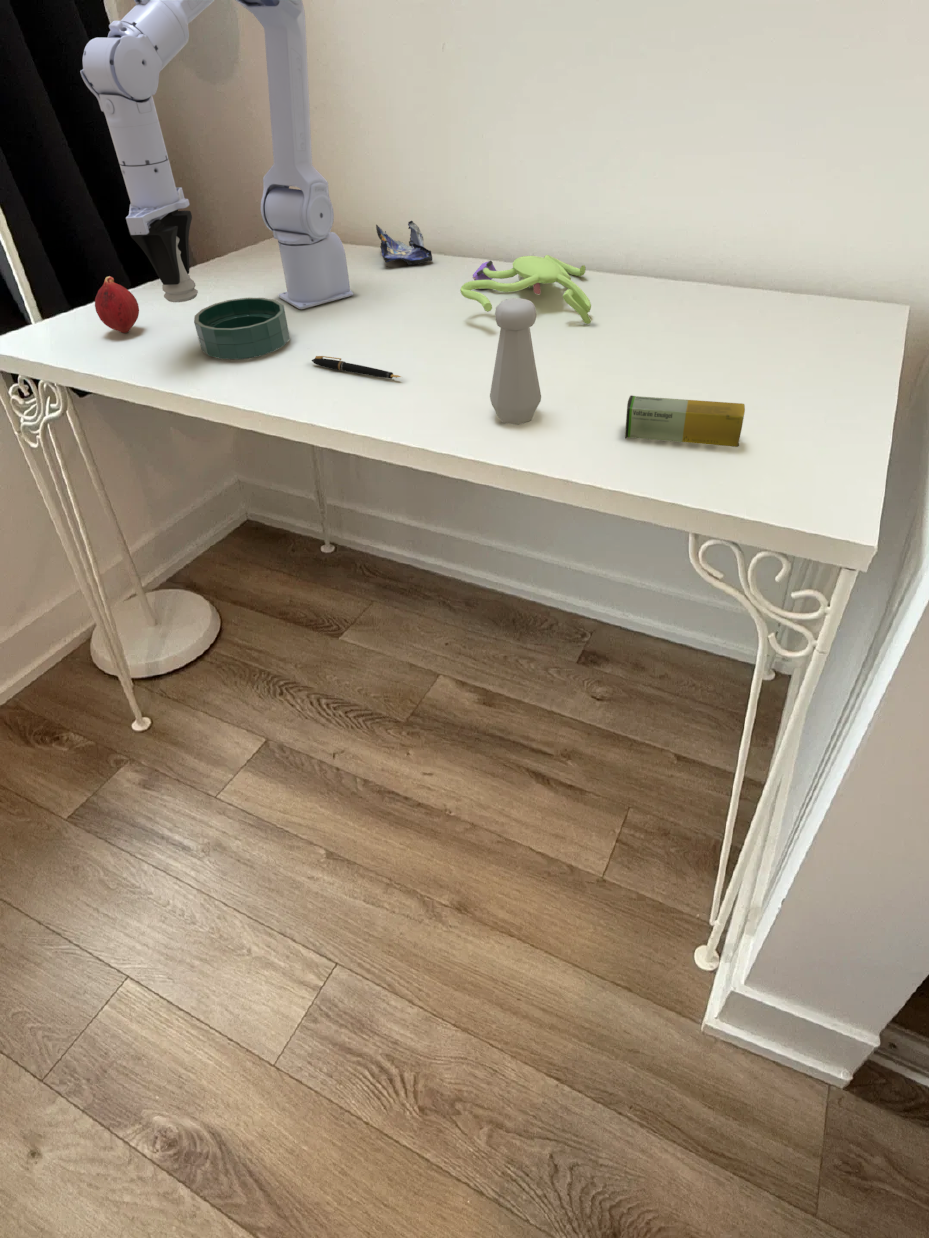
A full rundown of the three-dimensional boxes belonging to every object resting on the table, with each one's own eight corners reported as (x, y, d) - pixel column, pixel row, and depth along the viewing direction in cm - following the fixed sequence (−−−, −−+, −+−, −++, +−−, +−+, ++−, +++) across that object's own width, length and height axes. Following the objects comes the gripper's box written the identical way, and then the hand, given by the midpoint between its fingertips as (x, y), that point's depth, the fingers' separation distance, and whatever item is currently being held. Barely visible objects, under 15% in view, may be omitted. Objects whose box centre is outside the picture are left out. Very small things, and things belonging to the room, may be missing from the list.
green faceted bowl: (268, 322, 117) (261, 291, 114) (305, 346, 109) (299, 313, 106) (190, 344, 112) (181, 312, 109) (223, 370, 104) (214, 337, 101)
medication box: (623, 439, 85) (625, 407, 82) (626, 426, 87) (628, 394, 84) (738, 448, 82) (745, 415, 79) (740, 434, 84) (746, 401, 81)
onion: (132, 341, 114) (114, 284, 108) (97, 340, 115) (77, 283, 109) (152, 326, 118) (135, 271, 113) (118, 325, 119) (99, 270, 114)
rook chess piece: (205, 295, 104) (189, 231, 99) (177, 305, 102) (159, 240, 97) (185, 289, 107) (168, 226, 101) (157, 299, 104) (138, 234, 99)
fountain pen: (405, 380, 99) (404, 369, 98) (401, 384, 98) (399, 373, 97) (314, 363, 105) (312, 352, 104) (309, 366, 104) (307, 355, 103)
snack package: (446, 249, 141) (385, 245, 144) (443, 212, 136) (380, 209, 139) (427, 282, 134) (363, 278, 136) (423, 245, 129) (357, 241, 131)
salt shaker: (488, 407, 92) (485, 294, 84) (536, 403, 93) (538, 290, 84) (493, 430, 88) (491, 313, 80) (544, 426, 88) (547, 309, 80)
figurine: (459, 335, 110) (456, 294, 106) (472, 273, 130) (470, 237, 126) (591, 333, 108) (594, 292, 104) (584, 271, 128) (586, 234, 124)
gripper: (155, 173, 88) (188, 297, 97) (195, 147, 99) (221, 261, 108) (94, 176, 89) (133, 298, 97) (141, 150, 100) (172, 262, 108)
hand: (176, 279), depth 103 cm, fingers closed on rook chess piece, 3 cm apart
